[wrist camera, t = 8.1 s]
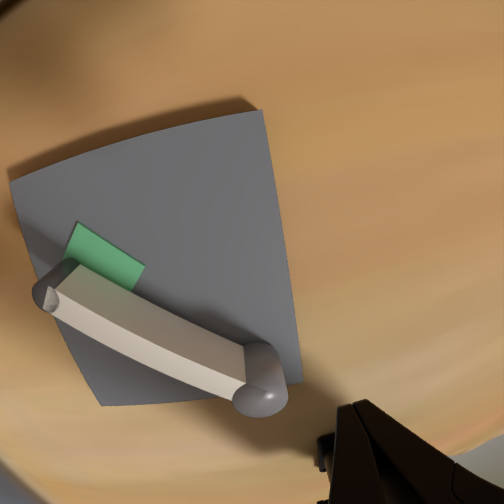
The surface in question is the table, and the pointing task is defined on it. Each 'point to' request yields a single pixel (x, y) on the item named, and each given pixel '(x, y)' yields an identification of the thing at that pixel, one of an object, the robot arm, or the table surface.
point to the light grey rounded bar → (164, 339)
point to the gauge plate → (170, 243)
